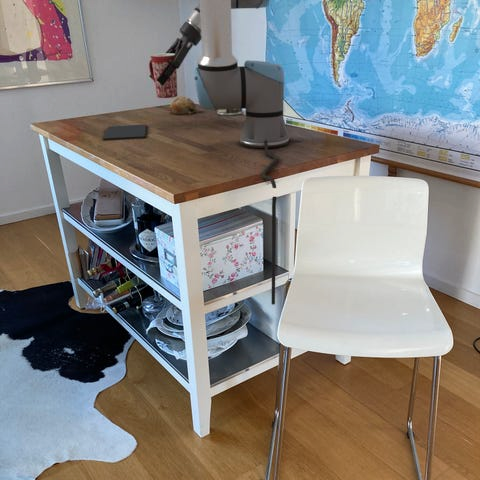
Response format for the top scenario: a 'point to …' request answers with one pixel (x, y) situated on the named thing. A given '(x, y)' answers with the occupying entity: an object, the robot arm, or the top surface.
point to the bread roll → (182, 106)
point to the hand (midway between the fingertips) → (155, 81)
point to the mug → (156, 68)
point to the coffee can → (230, 111)
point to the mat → (125, 132)
